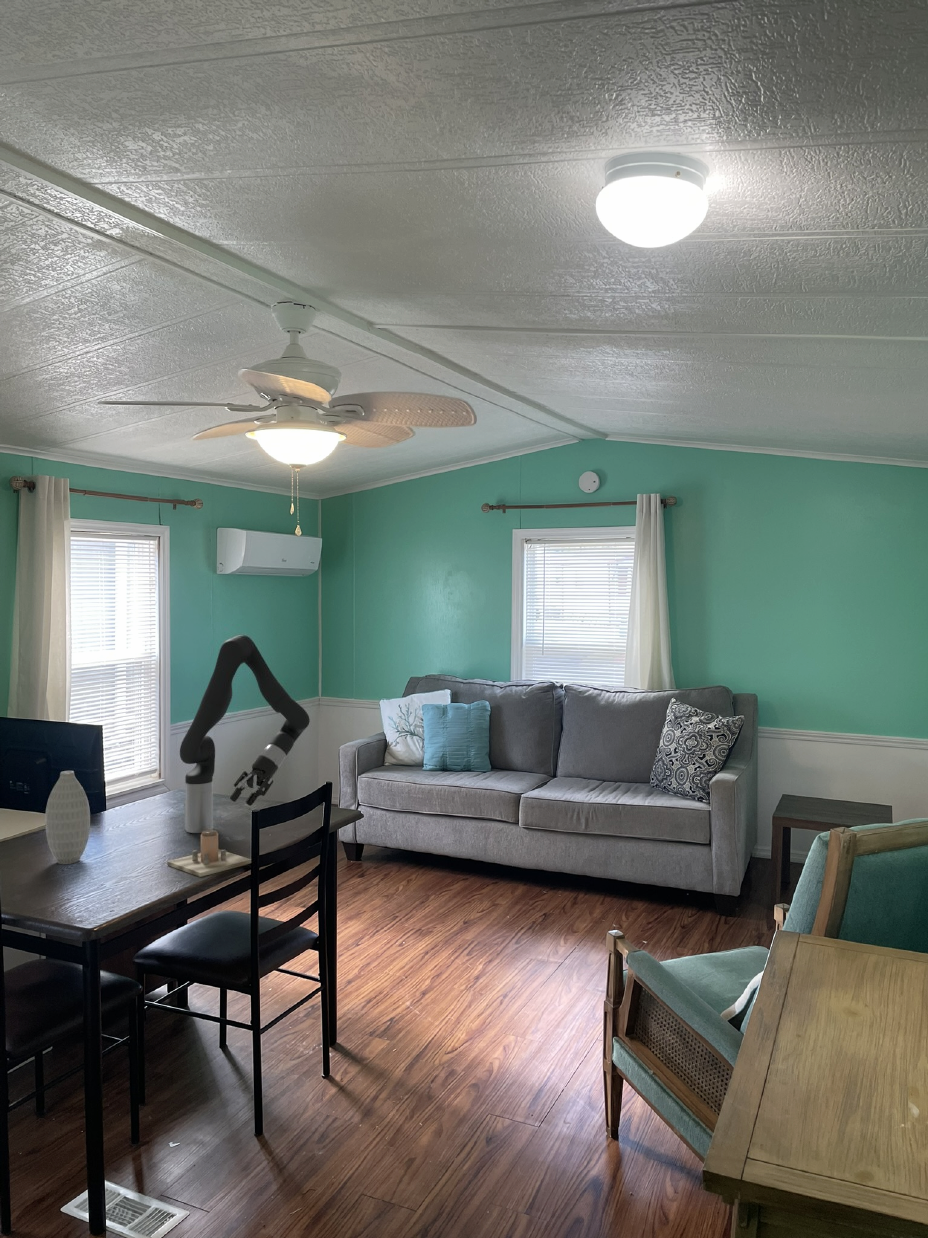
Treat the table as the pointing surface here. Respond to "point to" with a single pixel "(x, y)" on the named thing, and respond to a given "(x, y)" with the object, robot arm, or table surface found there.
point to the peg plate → (208, 868)
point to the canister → (209, 845)
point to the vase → (67, 819)
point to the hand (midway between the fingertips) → (240, 802)
